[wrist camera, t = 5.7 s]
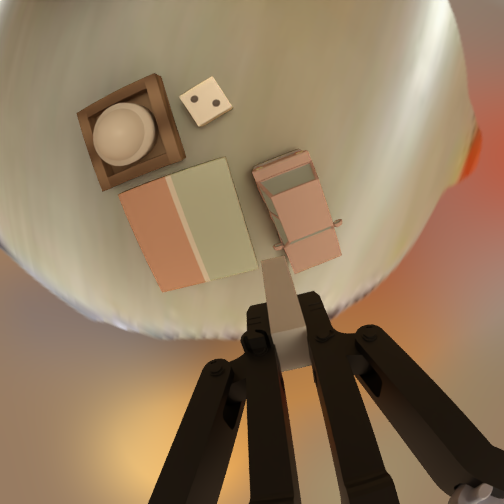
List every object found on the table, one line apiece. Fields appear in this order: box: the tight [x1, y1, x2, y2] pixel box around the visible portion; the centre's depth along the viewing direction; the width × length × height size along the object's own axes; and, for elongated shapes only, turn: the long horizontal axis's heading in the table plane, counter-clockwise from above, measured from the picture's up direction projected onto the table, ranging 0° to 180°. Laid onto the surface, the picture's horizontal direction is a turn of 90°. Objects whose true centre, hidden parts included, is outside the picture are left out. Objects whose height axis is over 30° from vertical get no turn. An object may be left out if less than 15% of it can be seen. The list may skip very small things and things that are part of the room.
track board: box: [118, 156, 259, 292], centre depth 38 cm, size 17×16×1 cm
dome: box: [93, 103, 158, 166], centre depth 28 cm, size 8×8×7 cm
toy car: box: [252, 149, 342, 274], centre depth 33 cm, size 9×15×10 cm, turn 23°
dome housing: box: [77, 73, 186, 191], centre depth 30 cm, size 12×12×3 cm
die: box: [179, 76, 233, 126], centre depth 28 cm, size 4×4×5 cm
